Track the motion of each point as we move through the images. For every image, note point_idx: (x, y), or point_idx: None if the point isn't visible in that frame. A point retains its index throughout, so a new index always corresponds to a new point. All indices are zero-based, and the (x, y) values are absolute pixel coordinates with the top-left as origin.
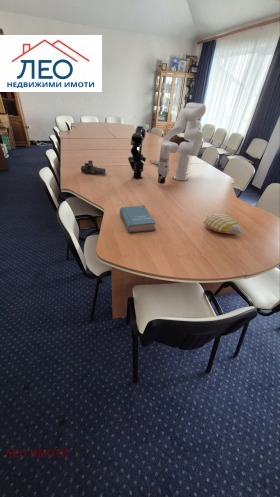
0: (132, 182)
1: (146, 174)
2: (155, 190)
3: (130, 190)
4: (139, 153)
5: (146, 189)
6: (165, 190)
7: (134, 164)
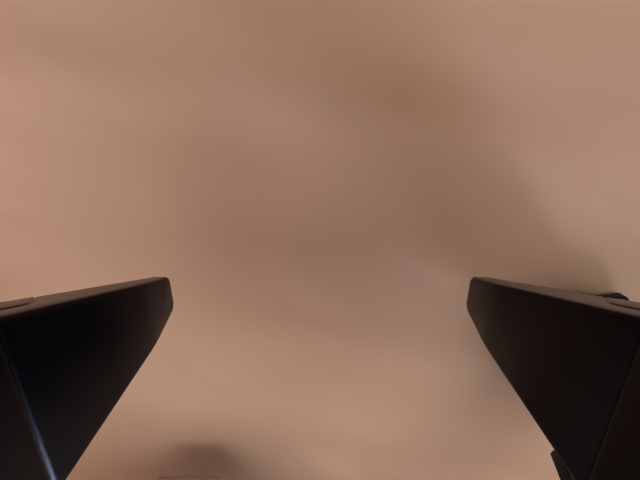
0: (415, 202)
1: None
2: None
3: (92, 33)
4: None
5: None
6: None
7: (575, 467)
